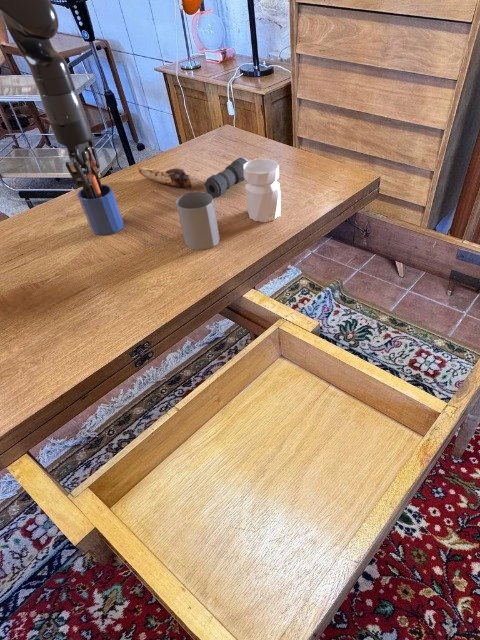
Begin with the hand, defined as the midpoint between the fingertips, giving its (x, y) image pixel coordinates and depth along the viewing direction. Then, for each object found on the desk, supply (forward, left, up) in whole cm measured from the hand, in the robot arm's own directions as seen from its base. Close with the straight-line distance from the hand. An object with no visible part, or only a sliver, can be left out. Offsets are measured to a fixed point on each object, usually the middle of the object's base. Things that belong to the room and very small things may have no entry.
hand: (96, 195), depth 106 cm
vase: (+40, +4, -8) cm, 41 cm away
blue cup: (0, 0, -8) cm, 8 cm away
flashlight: (+30, +20, -8) cm, 37 cm away
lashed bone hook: (+12, +25, -8) cm, 29 cm away
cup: (+25, -8, -8) cm, 28 cm away
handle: (0, 0, -7) cm, 7 cm away
